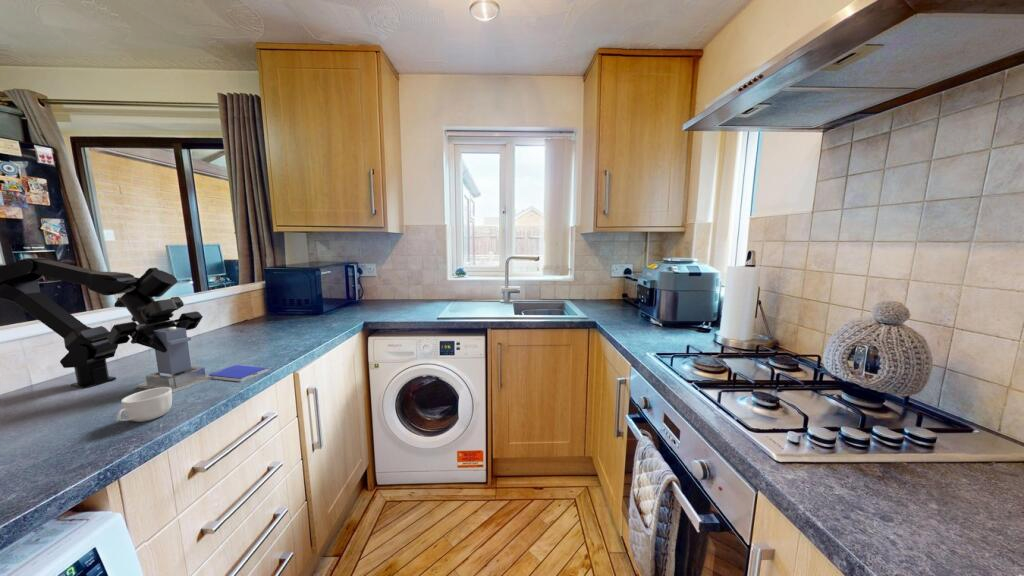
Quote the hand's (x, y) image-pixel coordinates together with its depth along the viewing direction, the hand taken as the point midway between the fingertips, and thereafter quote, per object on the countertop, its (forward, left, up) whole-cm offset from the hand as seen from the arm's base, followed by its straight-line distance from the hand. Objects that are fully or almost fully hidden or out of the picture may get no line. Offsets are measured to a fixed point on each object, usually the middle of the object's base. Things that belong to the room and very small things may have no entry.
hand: (176, 348), depth 93 cm
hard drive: (+9, +9, -11) cm, 17 cm away
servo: (-2, 0, -7) cm, 7 cm away
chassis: (-2, 0, -10) cm, 10 cm away
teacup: (+16, -16, -10) cm, 25 cm away
